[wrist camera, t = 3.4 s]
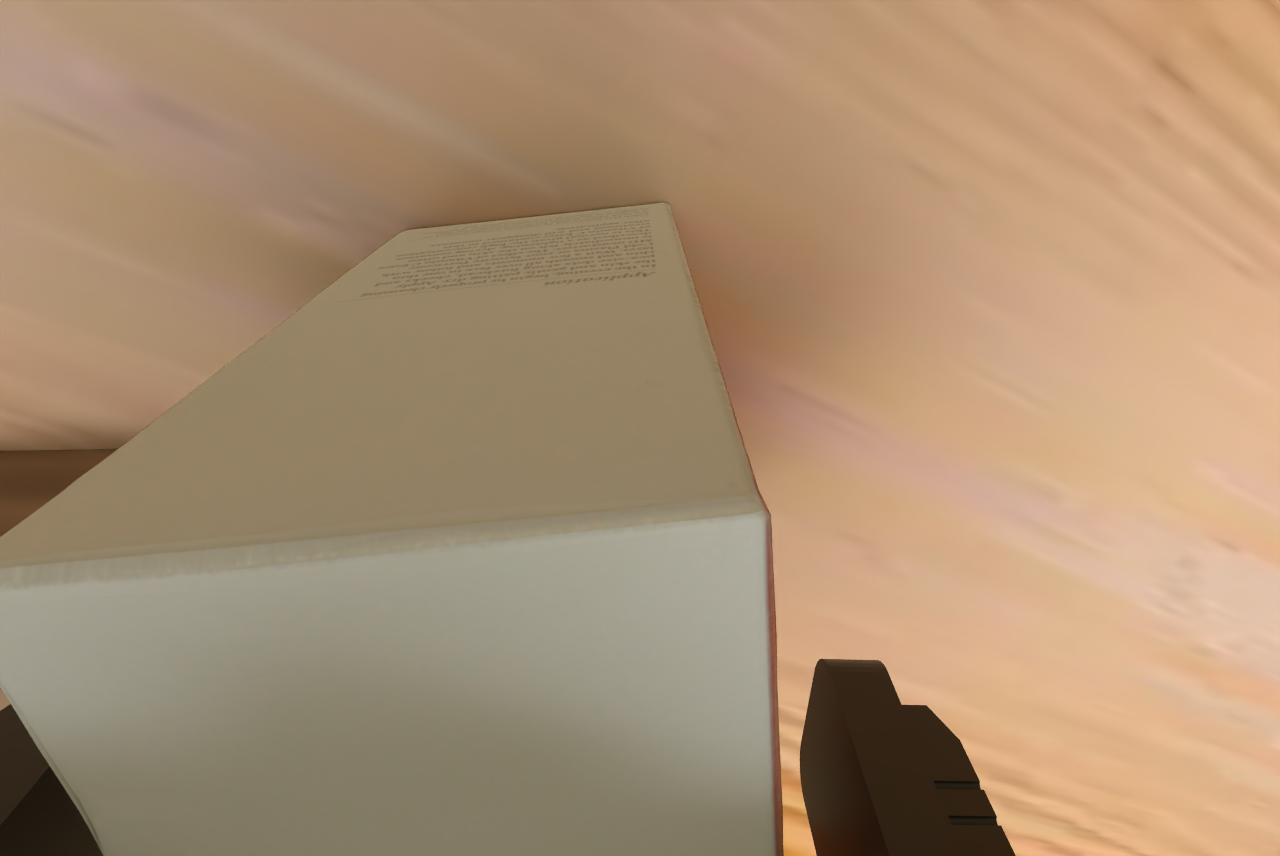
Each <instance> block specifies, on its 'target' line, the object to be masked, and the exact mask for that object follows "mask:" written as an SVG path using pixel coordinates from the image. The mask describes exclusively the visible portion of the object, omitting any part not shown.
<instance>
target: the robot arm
mask: <svg viewBox="0 0 1280 856" xmlns="http://www.w3.org/2000/svg"><path fill="white" fill-rule="evenodd" d="M800 775H801V785H802V792H803V797H804V802H805V806H806V811H807V815H808V819H809V824H810V828H811V832H812V836H813V841H814V845H815V849H816V854H817V856H1015V854H1014V851H1013V849H1012V847H1011V845H1010V843H1009V841H1008V839H1007V837H1006V835H1005V833H1004V831H1003V829H1002V827H1001V826H998V824H997V821H996V817H997V816H996V814H995V812H994V810H993V808H992V806H991V804H990V802H989V800H988V798H987V795H986V793H985V791H984V790H981V789H980V781H979V779H978V777H977V775H976V773H975V771H974V769H973V766H972V764H971V762H970V760H969V758H968V756H967V754H966V752H965V750H964V748H963V746H962V744H961V742H960V740H959V739H958V738H957V737H956V736H955V735H954V734H953V733H952V732H951V731H950V730H949V728H948V727H947V726H946V725H945V724H944V723H943V722H942V721H941V720H940V719H939V718H938V717H937V716H936V715H935V714H934V713H933V712H932V711H931V710H930V709H929V708H928V707H927V706H926V705H901V702H900V700H899V698H898V695H897V693H896V691H895V688H894V686H893V683H892V681H891V679H890V676H889V674H888V672H887V669H886V667H885V666H884V664H883V663H882V662H881V661H878V660H843V659H820V660H819V661H818V662H817V665H816V667H815V672H814V677H813V682H812V688H811V693H810V698H809V704H808V709H807V714H806V720H805V725H804V730H803V735H802V741H801V749H800ZM0 856H103V854H102V852H101V850H100V848H99V846H98V844H97V842H96V840H95V839H94V837H93V835H92V833H91V831H90V829H89V827H88V826H87V824H86V822H85V820H84V819H83V817H82V815H81V814H80V812H79V810H78V809H77V807H76V805H75V804H74V802H73V801H72V799H71V798H70V796H69V795H68V793H67V792H66V790H65V788H64V787H63V785H62V784H61V782H60V781H59V779H58V778H57V776H56V775H55V773H54V772H53V770H52V769H51V767H50V766H49V764H48V763H47V761H46V760H45V758H44V756H43V755H42V753H41V752H40V750H39V749H38V747H37V746H36V744H35V742H34V741H33V739H32V737H31V736H30V734H29V733H28V731H27V729H26V728H25V726H24V724H23V723H22V721H21V720H20V718H19V716H18V715H17V713H16V711H15V710H14V708H13V706H12V705H11V704H10V705H8V706H7V707H5V708H4V709H2V710H1V711H0Z"/></svg>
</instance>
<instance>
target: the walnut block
mask: <svg viewBox="0 0 1280 856" xmlns="http://www.w3.org/2000/svg"><path fill="white" fill-rule="evenodd" d="M116 450H118V449H98V450H33V451H0V537H1V536H3V535H4V534H5V533H7V532H8V531H9V530H11V529H12V528H14V527H15V526H16V525H18V524H19V523H21V522H22V521H23V520H25V519H26V518H27V517H29V516H30V515H31V514H33V513H34V512H35V511H37V510H38V509H39V508H41V507H42V506H43V505H45V504H46V503H48V502H49V501H50V500H52V499H53V498H54V497H56V496H57V495H58V494H60V493H61V492H62V491H64V490H65V489H66V488H67V487H68V486H70V485H71V484H72V483H73V482H74V481H76V480H77V479H78V478H80V477H81V476H82V475H84V474H85V473H87V472H88V471H89V470H91V469H92V468H94V467H95V466H96V465H98V464H99V463H100V462H102V461H103V460H104V459H106V458H107V457H108V456H110V455H111V454H112V453H114V452H115V451H116ZM10 704H11V703H10V702H9V700H8V699H7V697H6V696H5V694H4V693H3V691H2V690H1V688H0V711H1V710H2V709H4V708H5V707H7V706H8V705H10Z"/></svg>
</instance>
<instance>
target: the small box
mask: <svg viewBox="0 0 1280 856" xmlns="http://www.w3.org/2000/svg"><path fill="white" fill-rule="evenodd" d="M0 688H1V690H2V691H3V693H4V694H5V696H6V697H7V699H8V700H9V702H10V703H11V705H12V706H13V708H14V710H15V711H16V713H17V715H18V716H19V718H20V720H21V721H22V723H23V724H24V726H25V728H26V729H27V731H28V733H29V734H30V736H31V737H32V739H33V741H34V742H35V744H36V746H37V747H38V749H39V750H40V752H41V753H42V755H43V756H44V758H45V760H46V761H47V763H48V764H49V766H50V767H51V769H52V770H53V772H54V773H55V775H56V776H57V778H58V779H59V781H60V782H61V784H62V785H63V787H64V788H65V790H66V792H67V793H68V795H69V796H70V798H71V799H72V801H73V802H74V804H75V805H76V807H77V809H78V810H79V812H80V814H81V815H82V817H83V819H84V820H85V822H86V824H87V826H88V827H89V829H90V831H91V833H92V835H93V837H94V839H95V840H96V842H97V844H98V846H99V848H100V850H101V852H102V854H103V856H784V855H783V808H782V787H781V763H780V744H779V717H778V691H777V636H776V615H775V594H774V573H773V551H772V527H771V514H770V512H769V510H768V508H767V506H766V504H765V502H764V500H763V498H762V496H761V494H760V492H759V490H758V487H757V484H756V480H755V477H754V474H753V470H752V467H751V464H750V460H749V457H748V455H747V452H746V449H745V447H744V443H743V438H742V435H741V433H740V430H739V428H738V425H737V421H736V417H735V414H734V410H733V407H732V404H731V400H730V397H729V394H728V391H727V388H726V385H725V382H724V378H723V375H722V372H721V368H720V365H719V363H718V360H717V357H716V355H715V352H714V347H713V344H712V341H711V337H710V333H709V330H708V326H707V323H706V320H705V318H704V315H703V312H702V308H701V305H700V302H699V298H698V295H697V292H696V289H695V286H694V283H693V280H692V275H691V272H690V269H689V267H688V264H687V260H686V256H685V253H684V250H683V247H682V243H681V241H680V237H679V234H678V230H677V226H676V222H675V220H674V216H673V213H672V210H671V206H670V205H669V204H668V203H664V202H662V203H654V204H645V205H636V206H627V207H618V208H608V209H599V210H590V211H581V212H571V213H562V214H553V215H543V216H534V217H525V218H516V219H507V220H497V221H488V222H478V223H468V224H459V225H450V226H440V227H431V228H421V229H412V230H406V231H403V232H401V233H399V234H398V235H396V236H395V237H393V238H392V239H391V240H389V241H388V242H387V243H385V244H384V245H383V246H381V247H380V248H378V249H377V250H376V251H374V252H373V253H372V254H370V255H369V256H368V257H366V258H365V259H364V260H363V261H361V262H360V263H359V264H357V265H356V266H355V267H353V268H352V269H351V270H349V271H348V272H346V273H345V274H344V275H342V276H341V277H340V278H339V279H338V280H336V281H335V282H334V283H333V284H331V285H330V286H329V287H327V288H326V289H324V290H323V291H322V292H320V293H319V294H318V295H317V296H315V297H314V298H313V299H312V300H311V301H309V302H308V303H307V304H306V305H304V306H303V307H302V308H301V309H299V310H298V311H297V312H296V313H295V314H293V315H292V316H291V317H289V318H288V319H287V320H286V321H284V322H283V323H282V324H280V325H279V326H278V327H276V328H275V329H274V330H272V331H271V332H270V333H269V334H267V335H266V336H264V337H262V338H261V339H260V340H259V341H258V342H256V343H255V344H254V345H253V346H251V347H250V348H248V349H247V350H246V351H244V352H243V353H242V354H240V355H239V356H238V357H236V358H235V359H234V360H232V361H231V362H230V363H228V364H227V365H226V366H225V367H223V368H222V369H221V370H219V371H218V372H217V373H216V374H214V375H213V376H212V377H210V378H209V379H208V380H206V381H205V382H204V383H203V384H201V385H200V386H199V387H197V388H196V389H195V390H194V391H192V392H191V393H190V394H188V395H187V396H186V397H185V398H183V399H182V400H181V401H179V402H178V403H177V404H176V405H174V406H173V407H172V408H170V409H169V410H168V411H167V412H165V413H164V414H163V415H161V416H160V417H159V418H158V419H156V420H155V421H154V422H152V423H151V424H150V425H149V426H147V427H146V428H145V429H143V430H142V431H141V432H140V433H138V434H137V435H136V436H135V437H133V438H132V439H131V440H129V441H128V442H127V443H126V444H124V445H123V446H122V447H120V448H119V449H118V450H116V451H115V452H114V453H112V454H111V455H110V456H108V457H107V458H106V459H104V460H103V461H102V462H100V463H99V464H98V465H96V466H95V467H94V468H92V469H91V470H89V471H88V472H87V473H85V474H84V475H82V476H81V477H80V478H78V479H77V480H76V481H74V482H73V483H72V484H71V485H70V486H68V487H67V488H66V489H65V490H64V491H62V492H61V493H60V494H58V495H57V496H56V497H54V498H53V499H52V500H50V501H49V502H48V503H46V504H45V505H43V506H42V507H41V508H39V509H38V510H37V511H35V512H34V513H33V514H31V515H30V516H29V517H27V518H26V519H25V520H23V521H22V522H21V523H19V524H18V525H16V526H15V527H14V528H12V529H11V530H9V531H8V532H7V533H5V534H4V535H3V536H1V537H0Z"/></svg>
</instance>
